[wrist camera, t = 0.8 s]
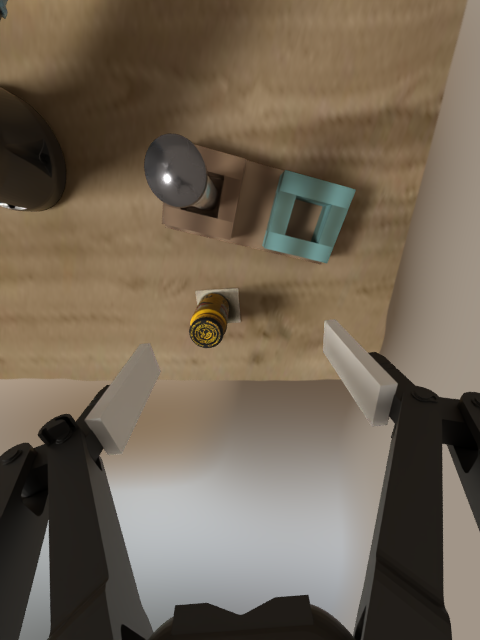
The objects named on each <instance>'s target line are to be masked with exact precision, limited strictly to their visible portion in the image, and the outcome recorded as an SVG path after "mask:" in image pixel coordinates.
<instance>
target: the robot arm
mask: <svg viewBox="0 0 480 640" xmlns="http://www.w3.org/2000/svg"><path fill="white" fill-rule="evenodd" d="M7 1H8V0H0V20H1V18H2V17H3V18H4V19H5V18H6V17H7V9H6V4H7ZM65 183H66V167H65V161H64V157H63V154H62V151H61V148H60V146H59V143H58V141H57V139H56V137H55V135H54V134H53V132H52V130H51V129H50V127H49V126H48V125H47V123H46V122H45V121H44V119H43V118H42V117H41V116H40V115H39V114H38V113H37V112H36V111H35V110H34V109H33V108H32V107H31V106H30V105H29V104H27V103H26V102H25V101H23V100H22V99H20V98H19V97H17V96H15V95H13V94H12V93H10V92H8V91H6V90H4V89H3V88H1V87H0V206H2V207H5V208H8V209H12V210H18V211H42V210H46V209H48V208H50V207H52V206H53V205H54V204H55V203H56V202H57V201H58V200H59V199H60V197H61V196H62V193H63V191H64V188H65ZM323 352H324V354H325V355H326V357H327V358H328V360H329V361H330V363H331V364H332V366H333V368H334V369H335V371H336V372H337V374H338V375H339V377H340V378H341V380H342V381H343V383H344V384H345V386H346V387H347V389H348V391H349V392H350V393H351V395H352V397H353V398H354V400H355V401H356V403H357V404H358V406H359V407H360V409H361V410H362V412H363V413H364V415H365V417H366V418H367V420H368V421H369V423H370V424H371V426H381V425H387V424H388V420H389V417H390V418H391V419H392V420H393V422H394V423H395V425H394V429H393V432H392V436H391V438H392V440H391V445H390V450H389V456H388V461H387V466H386V472H385V477H384V482H383V487H382V492H381V498H380V503H379V509H378V514H377V519H376V525H375V529H374V535H373V540H372V545H371V551H370V556H369V561H368V566H367V571H366V577H365V582H364V587H363V591H362V596H361V600H360V604H359V609H358V614H357V619H356V624H355V629H354V634H353V636H352V635H351V634H350V632H349V631H348V630H347V629H346V628H345V627H344V626H343V625H342V624H341V623H340V622H339V621H338V620H337V619H335V618H334V617H333V616H332V615H330V614H329V613H328V612H326V611H324V610H323V609H321V608H319V607H317V606H314V605H311V604H310V601H309V596H308V595H300V596H287V597H276V598H273V599H271V600H269V601H268V602H266V603H264V604H262V605H260V606H258V607H257V608H255V609H253V610H251V611H249V612H247V613H245V614H243V615H238V614H235V613H233V612H230V611H227V610H225V609H222V608H219V607H217V606H214V605H211V604H209V603H200V604H188V605H176V606H175V611H174V617H172V618H170V619H169V620H167V621H166V622H165V623H163V624H162V625H161V626H160V627H159V628H158V629H157V630H156V631H155V632H154V633H153V630H152V627H151V624H150V622H149V619H148V617H147V615H146V613H145V611H144V609H143V607H142V605H141V601H140V598H139V594H138V590H137V587H136V583H135V579H134V576H133V572H132V568H131V565H130V561H129V557H128V554H127V550H126V546H125V542H124V539H123V535H122V532H121V528H120V524H119V520H118V517H117V513H116V510H115V506H114V502H113V498H112V495H111V491H110V487H109V484H108V480H107V476H106V473H105V469H104V465H103V462H102V459H101V457H100V456H99V455H100V453H101V452H102V450H103V449H104V450H105V451H106V453H107V454H108V455H114V454H122V452H123V450H124V448H125V446H126V444H127V442H128V440H129V438H130V436H131V433H132V431H133V429H134V427H135V425H136V423H137V421H138V419H139V417H140V414H141V412H142V410H143V408H144V406H145V404H146V402H147V399H148V398H149V395H150V393H151V391H152V389H153V387H154V385H155V383H156V381H157V379H158V376H159V374H160V372H161V371H160V368H159V365H158V363H157V360H156V358H155V355H154V352H153V350H152V347H151V344H150V343H146V344H140V345H139V347H138V348H137V349H136V351H135V352H134V353H133V355H132V356H131V357H130V359H129V360H128V361H127V363H126V364H125V366H124V367H123V368H122V370H121V371H120V372H119V374H118V375H117V376H116V378H115V379H114V381H113V382H112V383H111V385H106V386H105V387H104V388H103V389H102V390H100V391H99V392H98V394H97V395H96V396H95V398H94V400H92V401H91V403H90V404H89V406H88V407H87V408H86V409H85V410H84V412H83V413H82V414H81V416H80V417H79V418H78V419H77V421H76V422H75V420H74V419H73V418H72V416H71V415H70V414H63V415H60V416H58V417H55V418H53V419H52V420H50V421H49V422H47V423H46V424H45V425H44V426H43V427H42V428H41V430H40V431H39V433H38V436H39V437H40V439H41V440H42V441H43V442H44V443H45V444H44V445H41V446H38V447H36V448H33V447H32V446H31V445H30V444H29V443H22V444H19V445H16V446H14V447H12V448H11V449H9V450H8V451H6V452H5V453H4V454H2V455H1V456H0V640H18V639H19V635H20V631H21V627H22V623H23V619H24V615H25V611H26V607H27V603H28V599H29V595H30V591H31V587H32V583H33V579H34V575H35V571H36V567H37V563H38V559H39V555H40V551H41V547H42V543H43V539H44V535H45V532H46V528H47V523H48V520H49V558H50V610H51V630H50V635H49V638H48V639H47V640H452V634H451V623H450V618H449V615H448V613H447V611H446V609H445V606H444V597H443V496H442V494H443V491H442V444H447V446H448V449H449V451H450V454H451V457H452V459H453V462H454V465H455V467H456V470H457V473H458V475H459V478H460V481H461V483H462V486H463V488H464V491H465V494H466V496H467V499H468V502H469V504H470V507H471V510H472V512H473V515H474V518H475V520H476V522H477V525H478V528H479V531H480V393H477V392H467V393H464V394H463V395H462V396H461V398H460V400H458V399H450V398H442V397H439V396H438V395H437V394H435V393H434V392H432V391H431V390H429V389H426V388H423V387H419V386H415V385H414V384H413V383H412V382H411V381H410V380H409V379H407V378H406V376H404V375H403V374H402V373H401V372H400V371H399V370H398V369H396V367H395V366H394V365H393V364H391V362H390V361H388V360H387V359H386V358H385V357H384V356H382V355H380V354H378V353H377V352H371V353H367V352H366V350H365V349H364V348H363V347H362V346H361V345H360V344H359V343H358V342H357V341H356V340H355V339H354V338H353V337H352V336H351V335H350V334H349V333H348V332H347V331H346V330H345V329H344V328H343V327H342V326H341V325H340V324H339V323H338V322H337V321H336V320H335V319H333V320H325V322H324V342H323Z"/></svg>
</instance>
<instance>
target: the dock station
mask: <svg viewBox="0 0 480 640" xmlns="http://www.w3.org/2000/svg"><path fill="white" fill-rule="evenodd" d="M194 145H195V144H194ZM195 146H196V148H197V149H198V150H199V152H200V154H201V156H202V157H203V159H204V162H205V164H206V168H207V174H208V177H209V178H210V180H211V181H212V182H213V184H214V185H215V187H216V188H217V191H218V195H219V199H218V203H217V205H216V206H215V207H214V208H213V209H211V210H203V209H200V208H197V207H194V206H189V207H184V208H181V207H175V206H171V205H168V204H166V203H164V202H163V215H162V224H165V227H167V228H171V229H175V230H179V231H183V232H188V233H192V234H196V235H200V236H204V237H209V238H213V239H217V240H221V241H225V242H229V243H234V244H238V245H242V246H246V247H250V248H255V249H259V250H263V251H267V252H271V253H276V254H280V255H284V256H288V257H292V258H297V259H301V260H305V261H309V262H313V263H318V264H321V263H322V262H324V263H327V262H328V260H329V257H330V255H331V252H332V249H333V247H334V244H335V242H336V239H337V237H338V234H339V232H340V229H341V227H342V224H343V221H344V219H345V216H346V214H347V211H348V209H349V206H350V204H351V201H352V198H353V196H354V193H355V191H356V190H355V189H352V188H348V187H345V186H341V185H337V184H334V183H330V182H327V181H323V180H320V179H316V178H313V177H309V176H305V175H302V174H298V173H295V172H291V171H288V170H285V171H284V170H280V169H277V168H273V167H270V166H266V165H263V164H259V163H255V162H252V161H248V160H246V159H245V158H241V157H238V156H234V155H230V154H227V153H223V152H220V151H216V150H213V149H209V148H205V147H202V146H198V145H195Z"/></svg>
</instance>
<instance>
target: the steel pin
mask: <svg viewBox="0 0 480 640" xmlns="http://www.w3.org/2000/svg"><path fill="white" fill-rule="evenodd" d="M144 169H145V175H146V179H147V182H148V184H149V186H150V188H151V190H152V191H153V193H154V194H155V195H156V196H157V197H158V198H159V199H160V200H161V201H163V202H164V203H166V204H168V205H171V206H175V207H181V208H184V207H189V206H194V207H197V208H200V209H203V210H211V209H213V208H214V207H215V206H216V205H217V203H218V199H219V195H218V191H217V188H216V187H215V185H214V184H213V182H212V181H211V180H210V178H209V177H208V174H207V168H206V164H205V162H204V159H203V157H202V156H201V154H200V152H199V150H198V149H197V148H196V146H195V145H194V144H193V143H192V142H191V141H190V140H188V139H187V138H185V137H183V136H181V135H178V134H165V135H162V136H160V137H158V138H156V139H155V140H154V141H153V142H152V143H151V145H150V146H149V148H148V150H147V153H146V156H145V162H144Z"/></svg>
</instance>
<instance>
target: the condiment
mask: <svg viewBox="0 0 480 640" xmlns="http://www.w3.org/2000/svg"><path fill="white" fill-rule="evenodd" d="M195 293H196V300H197V305H198V306H197V309H196V311H195V313H194V315H193V316H192V319H191V326H190V329H189V333H190V338H191V339H192V341H193V342H194V343H195V344H196V345H198V346H200V347H203V348H212V347H215V346H216V345H218V344H219V343H220V342H221V341H222V338H223V335H224V334H225V332H226V329H227V323H237V322H241V321H240V307H239V293H238V288H235V289H220V290H203V291H195ZM227 298H228V299H227ZM229 299H230V300H229Z"/></svg>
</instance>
